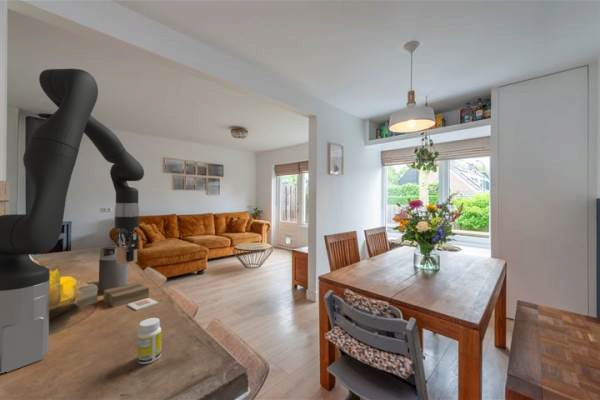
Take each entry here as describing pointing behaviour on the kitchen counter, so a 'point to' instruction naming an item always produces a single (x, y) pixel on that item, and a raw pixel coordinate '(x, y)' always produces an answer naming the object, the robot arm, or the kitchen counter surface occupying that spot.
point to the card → (142, 304)
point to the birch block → (87, 295)
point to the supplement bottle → (149, 341)
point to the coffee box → (107, 251)
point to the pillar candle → (111, 273)
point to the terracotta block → (124, 255)
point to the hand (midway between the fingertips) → (126, 260)
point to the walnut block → (126, 294)
